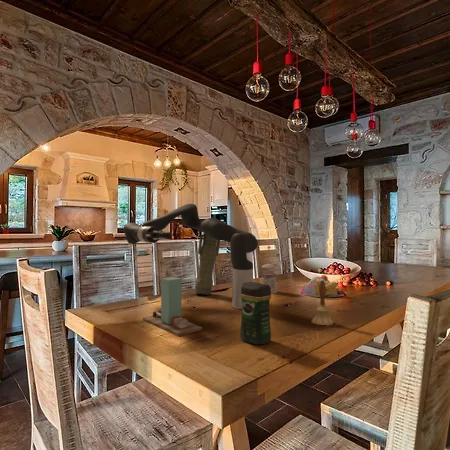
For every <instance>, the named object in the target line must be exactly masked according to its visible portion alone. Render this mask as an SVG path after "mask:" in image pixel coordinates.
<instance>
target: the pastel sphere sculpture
mask: <svg viewBox="0 0 450 450" xmlns="http://www.w3.org/2000/svg"><path fill="white" fill-rule="evenodd" d="M321 281H324V283H325V286H326V294H325V297H327V298H328V297H329V298H336V297H339V298H340V297H344V296H347V294H346V292H345V291H344V290H341V289H340V287H338V285H339V284H338V283H337V282H336V281H330V280H329V278H328V276H327V275H324V274H323V275H321V276H319V275H318V276H314V277H312V278H311V279H310V281H308V283H305V284H303V285H302V288H300V289H301V290H300V294H302V295H303V296H305V295H306V297H308V296H309V297H314V298H315V297H318V298H320V294H319V285H320V282H321Z"/></svg>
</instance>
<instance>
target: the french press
mask: <svg viewBox="0 0 450 450" xmlns="http://www.w3.org/2000/svg"><path fill="white" fill-rule="evenodd" d="M266 248H267V249H271V248H272V247H271V246H267V247H266ZM261 268H262V269H263V272H262V275H261V283H262V284H267V285H269V286H270V289H271V294H276V293H278V291H277V284H276V282H277V277H276V274H275V273H273V272H268V271H265V269H276V268H277V266H275V265H274V264H272V263H270V262H268V263H265V264H263V265H262V266H261Z"/></svg>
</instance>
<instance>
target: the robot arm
mask: <svg viewBox="0 0 450 450" xmlns="http://www.w3.org/2000/svg"><path fill="white" fill-rule="evenodd" d="M177 217H180V218H181V222H182V224H183V225H185V226H187V227H188V228H192V229H194V230H197V231H199V232H201V233H203V234H204V233H205V234H207V235H208V236H210V237H212V238H215V239H217V240H220V242H221V241H222V242H227V243H230V245H229V246H230V261H231V262H230V263H231V265H232V282H231V283H232V287H231V288H232V291H231V292H232V293H231V294H232V298H231V299H232V301H231V304H232V306H231V307H232V308H233V309H236V310H242V299H241V286H242V284H243V283H246V282H254V263H253V262H252V261H250V260H249V258H248V257H247V256H248V255H247V254H248V253H253V252H254V251H255V250H256V249H257V248H258V245H259V243H258V239H257V236H255V235H254V234H253V233H251V232H247V231H246V230H245V231H244V230H240V229H238V228H236V227H234V226H232V225H230V224H228V223H226V222H224V221H222V220H220V219H217V218H215V217H209V218H205V219H204V220H202V219H200V216H199V211H198V207H197V205H196V204H194V203H187V204H184V205H181V206H179V207H177V208H175V209H173V210H171V211H169V212H167V213H165V214H163V215H161V216H159V217H156V218H153V219H149V220H146V221H143V223H142V225H139V224H138V223H135V222H129V223H126V224H125V225H124V226H123V232H124V236H125V238H126V239H125V240H126V242H127V243H128V244H130V245H135V244H137V243H139V242H143V243H150V244H155V243H157V242H159V240H165V239H172V232H171V231H167V232H166V231H165V230H164V229H166V228H167V227H168V226H169V224H171V223H172V222H173V221H174V220H175V219H177Z"/></svg>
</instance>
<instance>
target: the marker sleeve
mask: <svg viewBox="0 0 450 450" xmlns="http://www.w3.org/2000/svg"><path fill="white" fill-rule="evenodd" d="M182 280H183V279H182V278H180V277H176V276H169V277H163V278H161V280H160V281H161V283H160V284H161V285H160V288H161V290H160V295H161V296H160V300H161V301H160V302H161V303H160V311H161V322H164V323H166V324H168V325H169V324H171V317H176V316H181V317H182V315H183V314H182V313H183V312H182V302H183V300H182V298H183V297H182V296H183V295H182V293H183V292H182V290H183V281H182Z"/></svg>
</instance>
